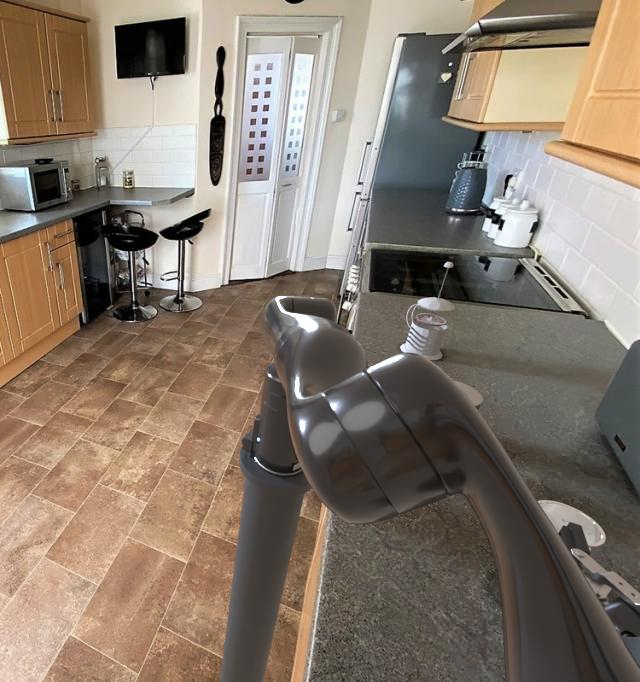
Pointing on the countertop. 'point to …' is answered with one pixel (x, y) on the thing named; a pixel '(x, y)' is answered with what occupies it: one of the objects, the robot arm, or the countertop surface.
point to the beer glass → (563, 516)
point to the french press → (426, 345)
